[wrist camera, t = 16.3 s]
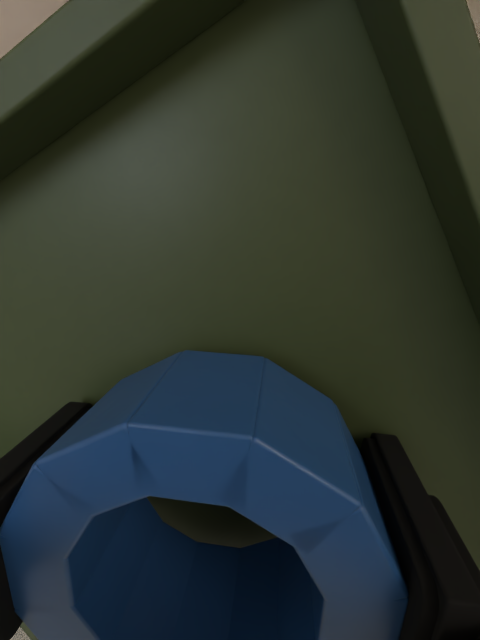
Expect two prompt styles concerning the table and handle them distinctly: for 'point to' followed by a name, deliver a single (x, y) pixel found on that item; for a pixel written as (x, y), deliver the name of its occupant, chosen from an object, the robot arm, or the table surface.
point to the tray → (250, 217)
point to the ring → (209, 488)
